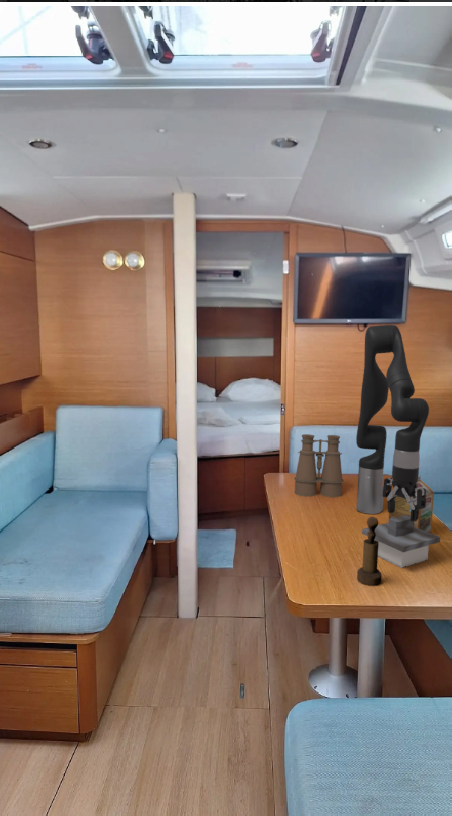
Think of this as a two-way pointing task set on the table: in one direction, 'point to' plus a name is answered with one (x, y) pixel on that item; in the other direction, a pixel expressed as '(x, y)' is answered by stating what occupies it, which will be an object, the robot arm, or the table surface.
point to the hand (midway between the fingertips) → (402, 516)
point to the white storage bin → (402, 555)
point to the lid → (402, 534)
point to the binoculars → (330, 471)
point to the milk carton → (424, 514)
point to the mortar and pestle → (370, 557)
